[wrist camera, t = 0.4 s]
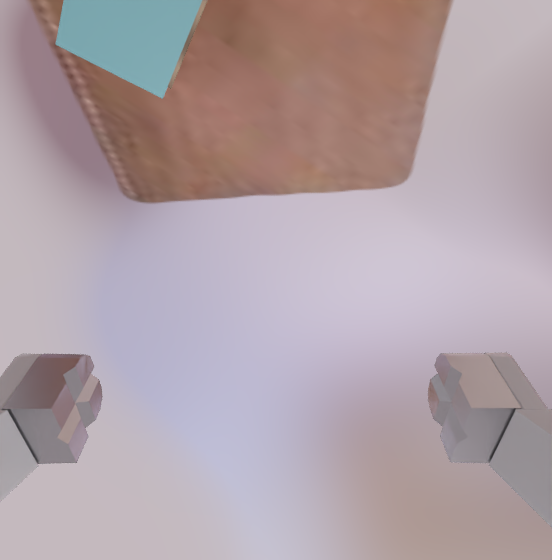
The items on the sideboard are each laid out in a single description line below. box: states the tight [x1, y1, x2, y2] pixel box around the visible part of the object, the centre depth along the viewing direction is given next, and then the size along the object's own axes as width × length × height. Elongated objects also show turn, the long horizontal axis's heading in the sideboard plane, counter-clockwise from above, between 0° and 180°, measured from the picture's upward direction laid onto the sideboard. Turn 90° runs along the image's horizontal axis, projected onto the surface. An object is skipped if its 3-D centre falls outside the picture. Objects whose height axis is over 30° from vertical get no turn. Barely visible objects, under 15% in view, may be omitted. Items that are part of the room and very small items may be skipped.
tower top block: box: [56, 0, 202, 99], centre depth 41 cm, size 11×11×4 cm
